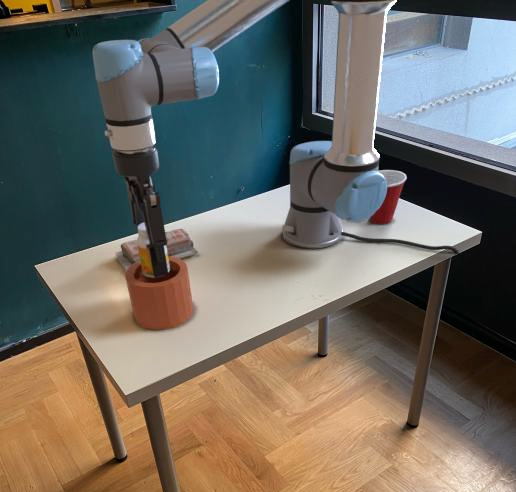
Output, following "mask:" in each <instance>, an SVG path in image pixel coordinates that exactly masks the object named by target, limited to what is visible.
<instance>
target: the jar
mask: <svg viewBox="0 0 516 492" xmlns="http://www.w3.org/2000/svg"><path fill="white" fill-rule="evenodd" d="M168 259H169V265H170V270H169V272H168V274H166V275H164V276H161V277H157V278H151V277H147V276H145V275H144V274H143V271H142V267H141V262H140V261H138V262H136V263H134V264H133V265H131V266H130V267H129V268H128V269H127V271H126V270H125V273H124V276H125V277H124V279H125V282H126V287H127V291H128V295H129V300H130V305H131V309H132V313H133V317H134V320H135V321H136V323H137V324H138V325H139V326H140V327H142V328H144V329H148V330H154V331H155V330H156V331H157V330H158V331H162V330H169V329H173V328H176V327H179V326H181V325H183V324H184V323H186V322H188V321H189V319H191V317H192V316H193V313H194V304H193V303H194V302H193V296H192V288H191V282H190V275H189V268H188V264H187V263H186V262H185V261H184V260H183V259H178V258H175V257H170V256H168Z"/></svg>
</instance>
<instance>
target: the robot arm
mask: <svg viewBox="0 0 516 492" xmlns="http://www.w3.org/2000/svg"><path fill="white" fill-rule="evenodd" d="M289 1H290V0H205V1H204V2H203V3H202V4H200V5H198V6H197V7H195V8H194V9H193V10H191V11H189V12H188V13H186V14H185V15H183V16H182V17H180V19H178V20H176V21H175V22H173V24H171V25H169V26H168V27H167V28H165V29H163V30H162V31H160V32H159V33H157V34H156V35H155V36H153V37H146V38H141V39H139V40H135V39H115V40H107V41H101V42H99V43H97V44H95V45H94V46H93V48H92V60H93V66H94V74H95V81H96V83H97V86H98V91H99V96H100V101H101V106H102V110H103V114H104V120H105V124H106V127H107V130H104V132H103V133H104V136H105V137H108V139H109V143H110V147H111V148H112V149H113V150H112V152H111V155H112V159H113V164H114V169H115V172H116V173H117V175H120V176H122V178H123V180H124V182H125V185H126V191H127V192H126V193H127V196H128V201H129V207H130V211H131V218H132V224H133V225H134V226H135V228H136V230H137V231H138V225H140V224H141V223H145V227H146V231H147V235H148V239H149V244H148V245H146V247H147V249H148V248H149V252H150V258H151V263H152V268H153V274H154V277H155V278H156V277H159V276H163V275H166V274H168V268H167V262H166V256H165V250H164V246H165V245H167V240H166V234H165V232H166V229H165V222H164V218H163V217H164V216H163V212H162V211H163V210H162V205H161V203H162V202H161V195H160V192H156V189H157V188H156V185H155V182H154V180H152V178H151V175H152V174H153V173H156V172H157V171H158V170H159V169H160V160H159V153H158V148H157V146H156V145H155V144H156V143H157V138H156V132H155V125H154V119H153V115H152V107H155V106H161V105H167V104H173V103H180V102H187V101H195V100H196V101H199V100H200V99H204V98H208V97H209V98H210V97H212V96H214V95H215V94H216V93H217V92H218V88H219V83H220V74H219V72H220V71H219V65H218V62H217V59H216V56H215V54H214V53H215V52H217V51H218V50H219V49H221V48H223V47H224V46H226V45H227V44H228V43H230V42H231V41H233V40H234V39H236V38H237V37H238V36H240V35H242V34H243V33H244V32H246V31H247V30H249V29H250V28H252V27H254V25H256V24H257V23H258V22H260V21H262V20H264V19H265V18H266V17H267V16H269V15H271V14H272V13H273V12H275V11H276V10H277V9H279V8H281V7H282V6H283V5H285V4H286V3H287V2H289ZM396 2H397V0H330V3H331V4H332V6H333V7H334V8H335V10H336V11H337V13H338V23H337V25H338V26H337V44H336V60H335V61H336V62H335V78H334V97H333V98H334V99H333V117H332V132H331V140H315V141H308V142H304V143H300V144H297V145H295V146H293V147H292V149H291V150H290V155H289V162H288V165H289V209H288V212H287V214H286V218H285V221H284V223H283V224H282V237H283V239H284V241H285V242H286V243H289V244H290V245H292V246H294V247H298V248H303V249H323V248H327V247H332V246H334V245H336V244H337V243H339V242H340V241H341V240H342V238H343V237H347V238H351V239H354V240H357V241H361V242H367V243H390V244H391V243H392V244H401V245H405V246H411V247H415V248H419V249H424V250H428V251H429V250H430V251H443V250H449V251H452V252H453V253H454V254H456V255H459V254H461V253H460V251H459V250H458V248H456V247H455V246H452V245H435V246H434V245H427V244H423V243H417V242H414V241H409V240H404V239H399V238H398V239H396V238H372V237H363V236H360V235H357V234H353V233H349V232H345V231H343V225H342V221H341V220H345V221H346V222H349V223H355V224H356V223H360V222H364V221H366V220H368V219H370V217H371V216H372V215H373V214H374V213H375V212H376V210H378V209H379V208H380V206H381V205H382V203H383V201H384V199H385V196H386V193H387V182H386V180H385V178H384V177H383V175H382V174H381V173H379V172H378V171H379V163H380V154H379V153H378V152H377V150H376V149H375V148H374V140H375V131H376V122H377V111H378V103H379V93H380V92H379V91H380V90H379V89H380V82H381V72H382V65H383V64H382V61H383V54H384V53H383V52H384V43H385V33H386V23H387V14H388V11H389V10H390V9H391V7H392V6H393V5H395V3H396ZM137 233H138V232H137ZM139 236H140V235H139V233H138V237H139Z"/></svg>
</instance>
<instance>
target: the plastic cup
mask: <svg viewBox="0 0 516 492" xmlns="http://www.w3.org/2000/svg"><path fill="white" fill-rule="evenodd" d="M378 172H379V173H381V174H382V175H383V177H384V178H385V180H386V182H387V193H386V196H385V199H384V201H383V203H382V205H381V206H380V208H379V209H378V210H376V212H375V213H374V214H373V215H372V216H371V217H369V220H370V222H371V223H374V224H377V225H387V224H390V223H391V222H392V220H393V218H394V215H395V212H396V210H397V208H398V207H397V206H398V203H399V200H400V197H401V193H402V191H403V187H404V185H405V182H406V181H407V178H408V177H407V174H406V173H404V172H403V171H399V170H394V169H383V170H378Z"/></svg>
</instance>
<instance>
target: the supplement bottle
mask: <svg viewBox="0 0 516 492" xmlns="http://www.w3.org/2000/svg"><path fill="white" fill-rule="evenodd" d="M137 233H139V234H138V237H136V240H137V247H138V252H139V257H140V262H141V267H142V271H143V274H144V275H145V276H147V277H151V278H155V277H154V274H153V268H152V263H151V258H150V252H149V248H148V249H147V247H146V245H148V244H149V239H148V235H147V231H146V227H145V223H141V224H140V225H138V230H137ZM139 235H140V236H139ZM164 250H165V256H166V262H167V268H168V272H169V270H170V265H169V259H168V253H167V247H166V245H165V246H164ZM163 276H164V275H163ZM159 277H161V276H159ZM156 278H157V277H156Z"/></svg>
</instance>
